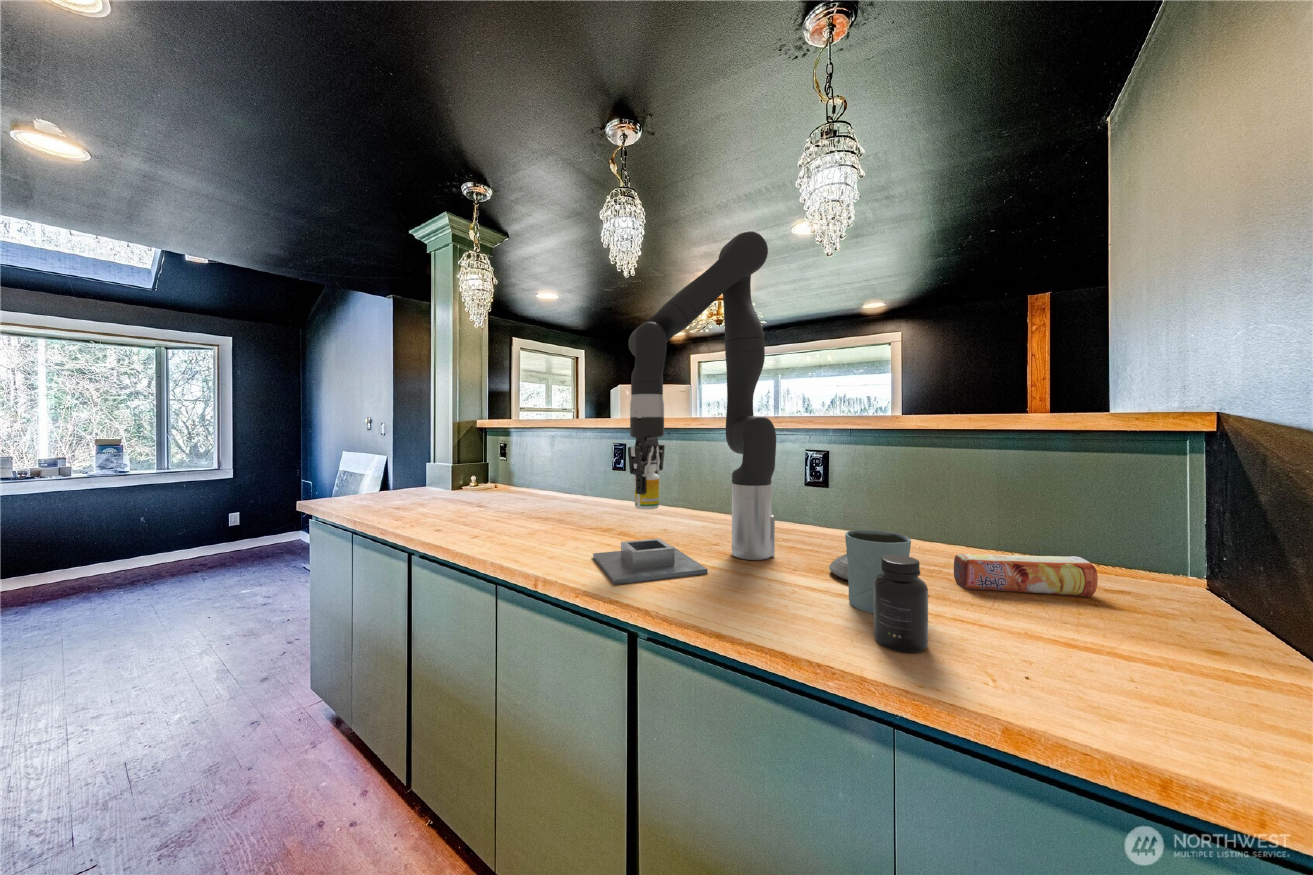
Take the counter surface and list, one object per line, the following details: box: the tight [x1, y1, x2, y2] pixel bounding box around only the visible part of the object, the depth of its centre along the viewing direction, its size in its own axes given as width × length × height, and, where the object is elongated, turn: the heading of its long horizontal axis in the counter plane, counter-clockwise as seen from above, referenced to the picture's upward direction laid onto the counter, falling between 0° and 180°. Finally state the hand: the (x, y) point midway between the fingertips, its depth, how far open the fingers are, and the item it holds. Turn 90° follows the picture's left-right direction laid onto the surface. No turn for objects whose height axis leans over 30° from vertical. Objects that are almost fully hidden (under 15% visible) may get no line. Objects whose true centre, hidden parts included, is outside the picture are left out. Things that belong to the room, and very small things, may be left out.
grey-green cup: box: [844, 529, 912, 615], centre depth 79 cm, size 10×10×12 cm
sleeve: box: [592, 538, 709, 586], centre depth 101 cm, size 20×20×4 cm
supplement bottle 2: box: [873, 555, 929, 654], centre depth 65 cm, size 7×7×12 cm
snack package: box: [953, 553, 1099, 598], centre depth 86 cm, size 21×7×7 cm, turn 78°
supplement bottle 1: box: [634, 464, 660, 510], centre depth 101 cm, size 5×5×10 cm
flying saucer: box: [828, 553, 849, 581], centre depth 93 cm, size 15×15×6 cm
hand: (647, 491), depth 101 cm, fingers closed on supplement bottle 1, 5 cm apart
